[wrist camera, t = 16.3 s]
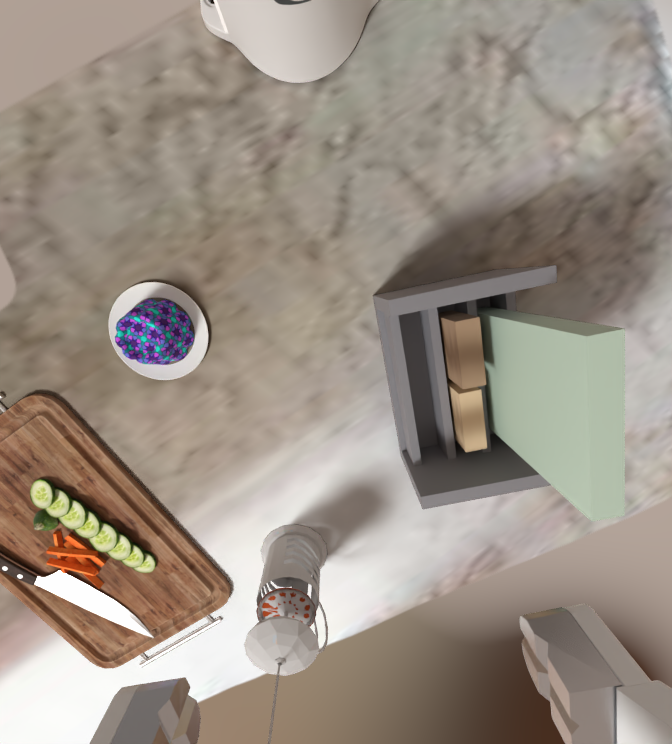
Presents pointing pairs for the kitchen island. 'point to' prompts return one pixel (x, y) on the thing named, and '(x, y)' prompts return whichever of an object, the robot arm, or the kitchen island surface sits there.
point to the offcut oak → (467, 416)
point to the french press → (288, 603)
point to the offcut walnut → (462, 348)
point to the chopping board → (94, 542)
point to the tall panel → (560, 402)
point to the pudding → (157, 331)
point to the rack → (430, 393)
